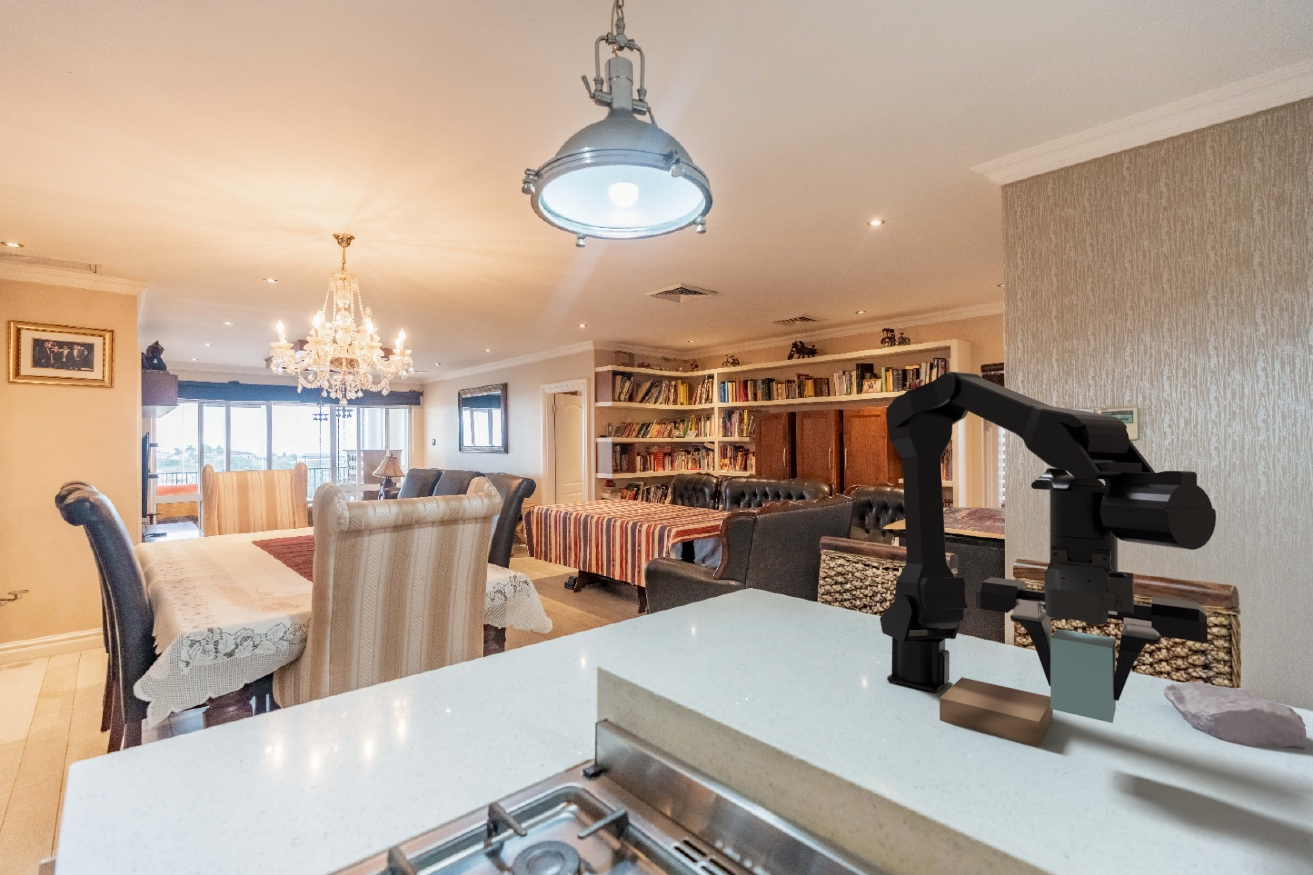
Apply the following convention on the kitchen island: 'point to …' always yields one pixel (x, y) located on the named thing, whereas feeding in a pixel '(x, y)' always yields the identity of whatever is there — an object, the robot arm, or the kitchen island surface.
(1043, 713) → the walnut base block
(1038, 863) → the kitchen island surface
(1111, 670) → the teal block
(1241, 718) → the stone block
